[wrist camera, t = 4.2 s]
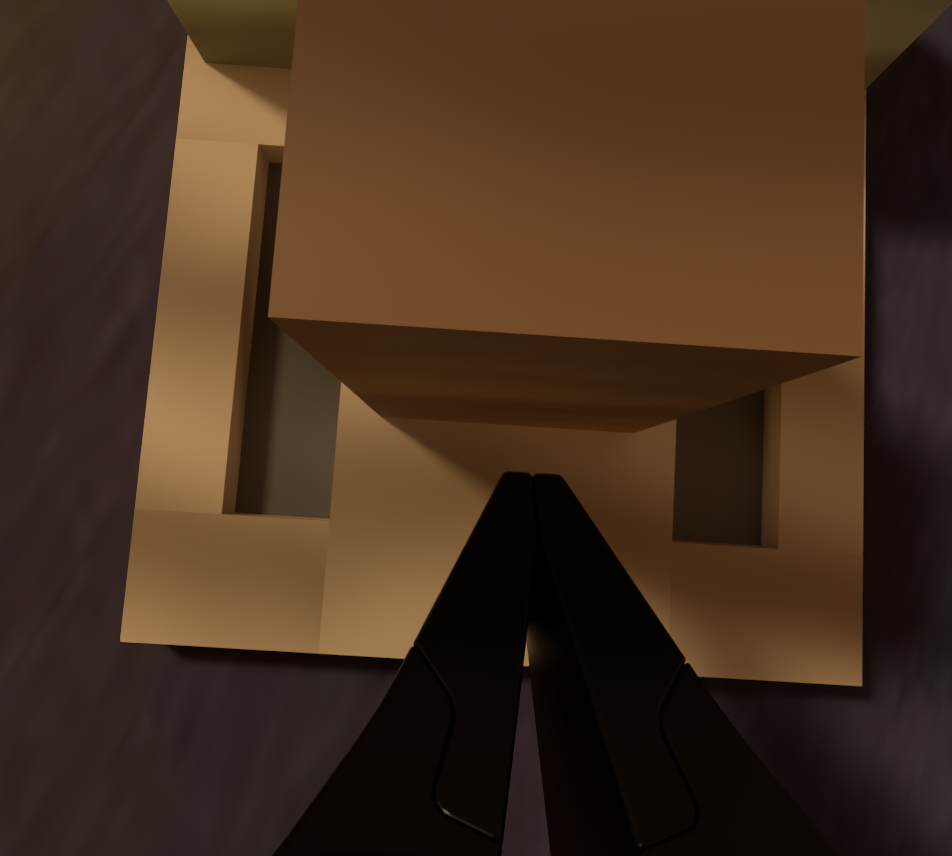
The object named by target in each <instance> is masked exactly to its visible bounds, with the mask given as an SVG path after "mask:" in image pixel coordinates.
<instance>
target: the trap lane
mask: <svg viewBox="0 0 952 856" xmlns="http://www.w3.org/2000/svg"><path fill="white" fill-rule="evenodd" d="M167 1H168V2H169V4H170V6H171V7H172V9H173V11H174V12H175V14H176V16H177V17H178V19H179V21H180V22H181V24H182V26H183V27H184V29H185V30H186V32H187V34H188V37H187V46H186V55H185V64H184V73H183V82H182V91H181V100H180V109H179V118H178V127H177V136H176V145H175V154H174V163H173V172H172V181H171V190H170V199H169V207H168V216H167V225H166V234H165V243H164V252H163V261H162V270H161V279H160V288H159V297H158V306H157V315H156V324H155V333H154V342H153V351H152V360H151V369H150V378H149V386H148V395H147V404H146V413H145V422H144V431H143V440H142V449H141V458H140V467H139V476H138V485H137V494H136V503H135V512H134V521H133V530H132V539H131V548H130V556H129V565H128V574H127V583H126V592H125V601H124V610H123V619H122V628H121V637H120V642H135V643H151V644H168V645H184V646H201V647H218V648H234V649H251V650H267V651H284V652H301V653H317V654H334V655H350V656H367V657H383V658H400V659H405V657H406V655H407V653H408V651H409V649H410V648H411V647H413V643H414V641H415V639H416V637H417V635H418V633H419V631H420V629H421V627H422V625H423V623H424V622H425V620H426V618H427V616H428V614H429V612H430V610H431V608H432V606H433V604H434V603H435V601H436V599H437V597H438V595H439V593H440V591H441V589H442V587H443V585H444V584H445V582H446V580H447V578H448V576H449V574H450V572H451V570H452V568H453V566H454V564H455V563H456V561H457V559H458V557H459V555H460V553H461V551H462V549H463V547H464V545H465V544H466V542H467V540H468V538H469V536H470V534H471V532H472V530H473V528H474V526H475V525H476V523H477V521H478V519H479V517H480V515H481V513H482V511H483V509H484V507H485V506H486V504H487V502H488V500H489V498H490V496H491V494H492V492H493V490H494V488H495V487H496V485H497V483H498V481H499V479H500V477H501V475H502V474H503V473H504V472H505V471H515V472H528V473H530V474H531V475H532V476H533V475H534V474H536V473H547V474H559V475H561V476H562V477H563V478H564V479H565V481H566V482H567V484H568V485H569V487H570V488H571V490H572V491H573V493H574V494H575V495H576V497H577V498H578V500H579V501H580V503H581V504H582V506H583V507H584V509H585V510H586V512H587V513H588V515H589V516H590V518H591V519H592V521H593V522H594V524H595V525H596V527H597V528H598V529H599V531H600V532H601V534H602V535H603V537H604V538H605V540H606V541H607V543H608V544H609V546H610V547H611V549H612V550H613V552H614V553H615V555H616V556H617V558H618V559H619V560H620V562H621V563H622V565H623V566H624V568H625V569H626V571H627V572H628V574H629V575H630V577H631V578H632V580H633V581H634V583H635V584H636V586H637V587H638V589H639V590H640V591H641V593H642V594H643V596H644V597H645V599H646V600H647V602H648V603H649V605H650V606H651V608H652V609H653V611H654V612H655V614H656V615H657V617H658V618H659V620H660V621H661V623H662V624H663V625H664V627H665V628H666V630H667V631H668V633H669V634H670V636H671V637H672V639H673V640H674V642H675V643H676V645H677V646H678V648H679V649H680V651H681V652H682V654H683V655H684V656H685V658H686V661H685V663H689V664H690V665H691V666H692V668H693V669H694V671H695V672H696V674H697V675H698V676H699V677H715V678H732V679H749V680H765V681H782V682H798V683H815V684H832V685H848V686H862V632H863V490H864V347H865V204H866V88H867V87H868V86H869V85H870V84H871V83H872V82H873V81H874V80H875V79H876V78H877V77H878V76H879V75H880V74H881V73H882V72H883V71H884V70H885V69H886V68H887V67H888V66H889V65H890V64H891V63H892V62H893V61H894V60H895V59H896V58H897V57H898V56H899V55H900V54H901V53H902V52H903V51H904V50H905V49H906V48H907V47H908V46H909V45H910V44H911V43H912V42H913V41H914V40H915V39H916V38H917V37H918V36H919V35H920V34H921V33H922V32H923V31H924V30H925V29H926V28H927V27H928V26H929V25H930V24H931V23H932V22H933V21H934V20H935V19H936V18H937V17H938V16H939V15H940V14H941V13H942V12H943V11H944V10H945V9H946V8H947V7H948V6H949V5H950V4H951V3H952V0H865V81H864V218H863V355H862V357H859V358H856V359H853V360H850V361H848V362H845V363H842V364H839V365H836V366H833V367H830V368H827V369H824V370H821V371H818V372H815V373H812V374H809V375H806V376H803V377H800V378H797V379H794V380H791V381H788V382H785V383H782V384H779V385H776V386H773V387H770V388H767V389H764V390H761V391H758V392H755V393H752V394H749V395H746V396H743V397H740V398H737V399H734V400H731V401H728V402H726V403H723V404H720V405H717V406H714V407H711V408H708V409H705V410H702V411H699V412H696V413H693V414H690V415H687V416H684V417H681V418H678V419H675V420H672V421H669V422H666V423H663V424H660V425H657V426H654V427H651V428H648V429H645V430H642V431H639V432H636V433H622V432H606V431H591V430H575V429H560V428H544V427H529V426H514V425H498V424H483V423H467V422H452V421H436V420H421V419H405V418H390V417H380V416H379V415H378V414H377V413H376V412H375V411H374V410H372V409H371V408H370V407H369V406H368V405H367V404H366V403H365V402H363V401H362V400H361V399H360V398H359V397H358V396H357V395H356V394H354V393H353V392H352V391H351V390H350V389H349V388H348V387H346V386H345V385H344V384H343V383H342V382H341V381H340V380H339V379H337V378H336V377H335V376H334V375H333V374H332V373H331V372H330V371H328V370H327V369H326V368H325V367H324V366H323V365H322V364H320V363H319V362H318V361H317V360H316V359H315V358H314V357H313V356H311V355H310V354H309V353H308V352H307V351H306V350H305V349H304V348H302V347H301V346H300V345H299V344H298V343H297V342H296V341H294V340H293V339H292V338H291V337H290V336H289V335H288V334H287V333H285V332H284V331H283V330H282V329H281V328H280V327H279V326H278V325H276V324H275V323H274V322H273V321H272V320H271V319H270V318H268V311H269V300H270V290H271V279H272V269H273V258H274V248H275V237H276V227H277V216H278V206H279V195H280V185H281V174H282V164H283V153H284V143H285V132H286V122H287V111H288V101H289V90H290V80H291V69H292V59H293V48H294V38H295V27H296V17H297V6H298V0H167ZM685 663H684V664H685ZM523 666H529V660H528V651H527V642H526V648H525V657H524V665H523Z"/></svg>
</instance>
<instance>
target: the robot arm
mask: <svg viewBox="0 0 952 856" xmlns="http://www.w3.org/2000/svg"><path fill="white" fill-rule="evenodd" d="M526 642H527V651H528V660H529V668H530V677H531V686H532V695H533V704H534V713H535V721H536V730H537V739H538V748H539V757H540V765H541V774H542V783H543V792H544V801H545V809H546V818H547V827H548V836H549V845H550V854H551V856H840V855H839V854H838V853H837V852H836V851H835V849H834V848H833V847H832V846H831V845H830V843H829V842H828V841H827V840H826V839H825V837H824V836H823V835H822V834H821V833H820V831H819V830H818V829H817V828H816V826H815V825H814V824H813V823H812V822H811V820H810V819H809V818H808V817H807V816H806V814H805V813H804V812H803V811H802V810H801V808H800V807H799V806H798V805H797V804H796V802H795V801H794V800H793V799H792V798H791V796H790V795H789V794H788V793H787V792H786V790H785V789H784V788H783V787H782V786H781V784H780V783H779V782H778V781H777V780H776V778H775V777H774V776H773V775H772V774H771V772H770V771H769V770H768V769H767V768H766V766H765V765H764V764H763V763H762V761H761V760H760V759H759V758H758V756H757V755H756V754H755V753H754V751H753V750H752V749H751V748H750V746H749V745H748V744H747V743H746V741H745V740H744V739H743V738H742V736H741V735H740V734H739V733H738V731H737V730H736V729H735V727H734V726H733V725H732V724H731V722H730V721H729V719H728V718H727V717H726V715H725V714H724V712H723V711H722V710H721V708H720V707H719V706H718V704H717V703H716V701H715V700H714V699H713V697H712V696H711V694H710V693H709V692H708V690H707V689H706V687H705V686H704V684H703V683H702V681H701V680H700V678H699V677H698V675H697V674H696V672H695V671H694V669H693V668H692V666H691V665H690V664H689V663H685V661H686V658H685V656H684V655H683V654H682V652H681V651H680V649H679V648H678V646H677V645H676V643H675V642H674V640H673V639H672V637H671V636H670V634H669V633H668V631H667V630H666V628H665V627H664V625H663V624H662V623H661V621H660V620H659V618H658V617H657V615H656V614H655V612H654V611H653V609H652V608H651V606H650V605H649V603H648V602H647V600H646V599H645V597H644V596H643V594H642V593H641V591H640V590H639V589H638V587H637V586H636V584H635V583H634V581H633V580H632V578H631V577H630V575H629V574H628V572H627V571H626V569H625V568H624V566H623V565H622V563H621V562H620V560H619V559H618V558H617V556H616V555H615V553H614V552H613V550H612V549H611V547H610V546H609V544H608V543H607V541H606V540H605V538H604V537H603V535H602V534H601V532H600V531H599V529H598V528H597V527H596V525H595V524H594V522H593V521H592V519H591V518H590V516H589V515H588V513H587V512H586V510H585V509H584V507H583V506H582V504H581V503H580V501H579V500H578V498H577V497H576V495H575V494H574V493H573V491H572V490H571V488H570V487H569V485H568V484H567V482H566V481H565V479H564V478H563V477H562V476H561V475H559V474H547V473H536V474H534V475H533V476H532V475H531V474H530V473H528V472H515V471H505V472H504V473H503V474H502V475H501V477H500V479H499V481H498V483H497V485H496V487H495V488H494V490H493V492H492V494H491V496H490V498H489V500H488V502H487V504H486V506H485V507H484V509H483V511H482V513H481V515H480V517H479V519H478V521H477V523H476V525H475V526H474V528H473V530H472V532H471V534H470V536H469V538H468V540H467V542H466V544H465V545H464V547H463V549H462V551H461V553H460V555H459V557H458V559H457V561H456V563H455V564H454V566H453V568H452V570H451V572H450V574H449V576H448V578H447V580H446V582H445V584H444V585H443V587H442V589H441V591H440V593H439V595H438V597H437V599H436V601H435V603H434V604H433V606H432V608H431V610H430V612H429V614H428V616H427V618H426V620H425V622H424V623H423V625H422V627H421V629H420V631H419V633H418V635H417V637H416V639H415V641H414V643H413V647H411V648H410V649H409V651H408V653H407V655H406V657H405V659H404V661H403V663H402V665H401V666H400V668H399V670H398V672H397V674H396V675H395V677H394V679H393V681H392V682H391V684H390V686H389V688H388V689H387V691H386V693H385V695H384V696H383V698H382V700H381V702H380V703H379V705H378V707H377V708H376V710H375V711H374V713H373V714H372V716H371V717H370V719H369V720H368V722H367V723H366V725H365V726H364V728H363V729H362V731H361V732H360V734H359V735H358V737H357V738H356V740H355V741H354V743H353V744H352V746H351V747H350V748H349V750H348V751H347V753H346V754H345V755H344V757H343V758H342V760H341V761H340V763H339V764H338V765H337V767H336V768H335V770H334V771H333V772H332V774H331V775H330V777H329V778H328V779H327V781H326V782H325V784H324V785H323V787H322V788H321V789H320V791H319V792H318V794H317V795H316V796H315V798H314V799H313V801H312V802H311V803H310V805H309V806H308V808H307V809H306V810H305V812H304V813H303V815H302V816H301V818H300V819H299V820H298V822H297V823H296V825H295V826H294V827H293V829H292V830H291V832H290V833H289V834H288V836H287V837H286V838H285V840H284V841H283V842H282V844H281V845H280V846H279V848H278V849H277V850H276V851H275V853H274V854H273V855H272V856H501V853H502V848H501V847H502V843H503V836H504V828H505V819H506V810H507V802H508V793H509V785H510V776H511V768H512V759H513V751H514V742H515V734H516V725H517V717H518V708H519V700H520V691H521V682H522V674H523V665H524V657H525V648H526ZM684 663H685V664H684Z"/></svg>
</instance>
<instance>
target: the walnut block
mask: <svg viewBox="0 0 952 856" xmlns="http://www.w3.org/2000/svg"><path fill="white" fill-rule="evenodd" d="M864 81H865V0H298V6H297V17H296V27H295V38H294V48H293V59H292V69H291V80H290V90H289V101H288V111H287V122H286V132H285V143H284V153H283V164H282V174H281V185H280V195H279V206H278V216H277V227H276V237H275V248H274V258H273V269H272V279H271V290H270V300H269V311H268V318H270V319H271V320H272V321H273V322H274V323H275V324H276V325H278V326H279V327H280V328H281V329H282V330H283V331H284V332H285V333H287V334H288V335H289V336H290V337H291V338H292V339H293V340H294V341H296V342H297V343H298V344H299V345H300V346H301V347H302V348H304V349H305V350H306V351H307V352H308V353H309V354H310V355H311V356H313V357H314V358H315V359H316V360H317V361H318V362H319V363H320V364H322V365H323V366H324V367H325V368H326V369H327V370H328V371H330V372H331V373H332V374H333V375H334V376H335V377H336V378H337V379H339V380H340V381H341V382H342V383H343V384H344V385H345V386H346V387H348V388H349V389H350V390H351V391H352V392H353V393H354V394H356V395H357V396H358V397H359V398H360V399H361V400H362V401H363V402H365V403H366V404H367V405H368V406H369V407H370V408H371V409H372V410H374V411H375V412H376V413H377V414H378V415H379V416H380V417H390V418H405V419H421V420H436V421H452V422H467V423H483V424H498V425H514V426H529V427H544V428H560V429H575V430H591V431H606V432H622V433H636V432H639V431H642V430H645V429H648V428H651V427H654V426H657V425H660V424H663V423H666V422H669V421H672V420H675V419H678V418H681V417H684V416H687V415H690V414H693V413H696V412H699V411H702V410H705V409H708V408H711V407H714V406H717V405H720V404H723V403H726V402H728V401H731V400H734V399H737V398H740V397H743V396H746V395H749V394H752V393H755V392H758V391H761V390H764V389H767V388H770V387H773V386H776V385H779V384H782V383H785V382H788V381H791V380H794V379H797V378H800V377H803V376H806V375H809V374H812V373H815V372H818V371H821V370H824V369H827V368H830V367H833V366H836V365H839V364H842V363H845V362H848V361H850V360H853V359H856V358H859V357H862V355H863V218H864Z"/></svg>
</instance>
